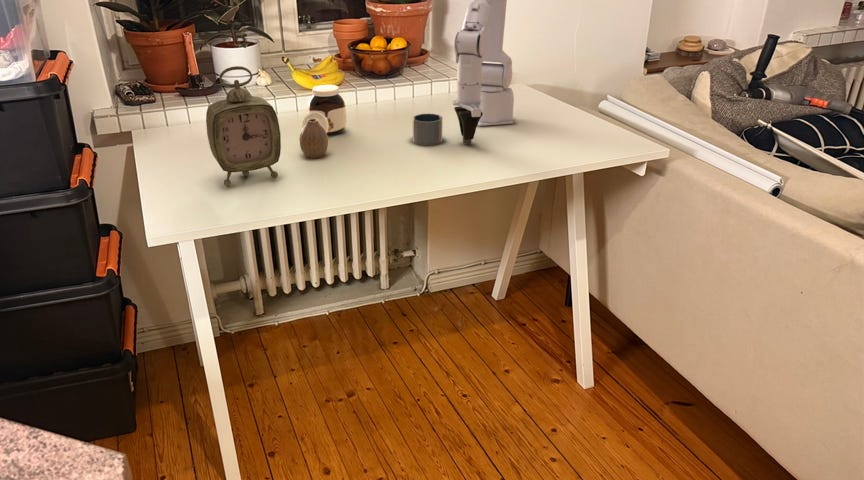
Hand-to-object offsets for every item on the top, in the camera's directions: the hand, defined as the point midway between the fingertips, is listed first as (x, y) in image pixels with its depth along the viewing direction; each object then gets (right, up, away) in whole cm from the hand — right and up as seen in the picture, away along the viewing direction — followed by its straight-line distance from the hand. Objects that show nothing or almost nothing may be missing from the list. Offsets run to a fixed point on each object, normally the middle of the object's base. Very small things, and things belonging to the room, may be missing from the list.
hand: (467, 137), depth 174 cm
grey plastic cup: (-10, 0, +4) cm, 10 cm away
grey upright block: (0, -1, +1) cm, 1 cm away
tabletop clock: (-51, -13, -16) cm, 55 cm away
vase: (-38, -5, -3) cm, 38 cm away
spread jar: (-36, +3, +11) cm, 38 cm away
